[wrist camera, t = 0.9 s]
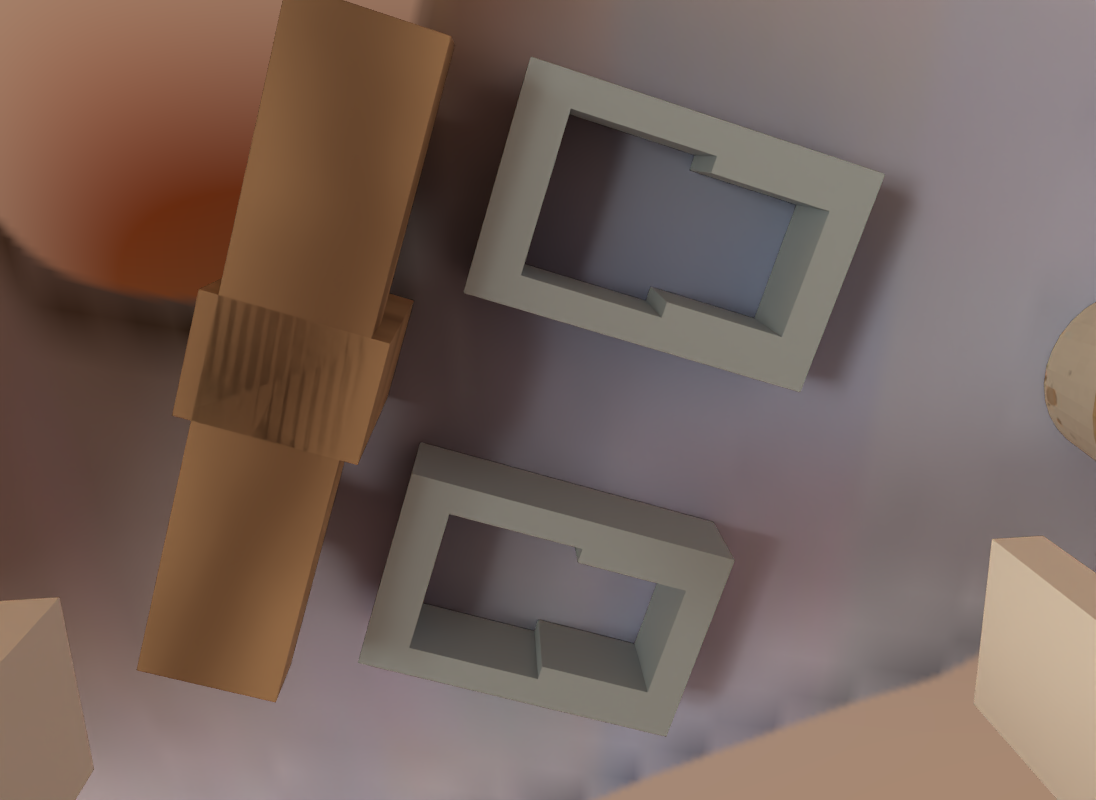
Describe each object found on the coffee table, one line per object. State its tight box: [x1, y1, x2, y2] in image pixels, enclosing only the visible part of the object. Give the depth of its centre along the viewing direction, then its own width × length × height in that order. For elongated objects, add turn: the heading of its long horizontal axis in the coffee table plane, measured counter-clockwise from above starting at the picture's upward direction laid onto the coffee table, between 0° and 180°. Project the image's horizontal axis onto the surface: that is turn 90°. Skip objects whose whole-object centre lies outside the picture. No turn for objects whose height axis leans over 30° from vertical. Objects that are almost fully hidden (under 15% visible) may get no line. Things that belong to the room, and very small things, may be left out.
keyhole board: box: [358, 57, 885, 737], centre depth 30 cm, size 11×20×3 cm, turn 163°
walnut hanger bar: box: [137, 0, 455, 702], centre depth 27 cm, size 5×19×7 cm, turn 163°
